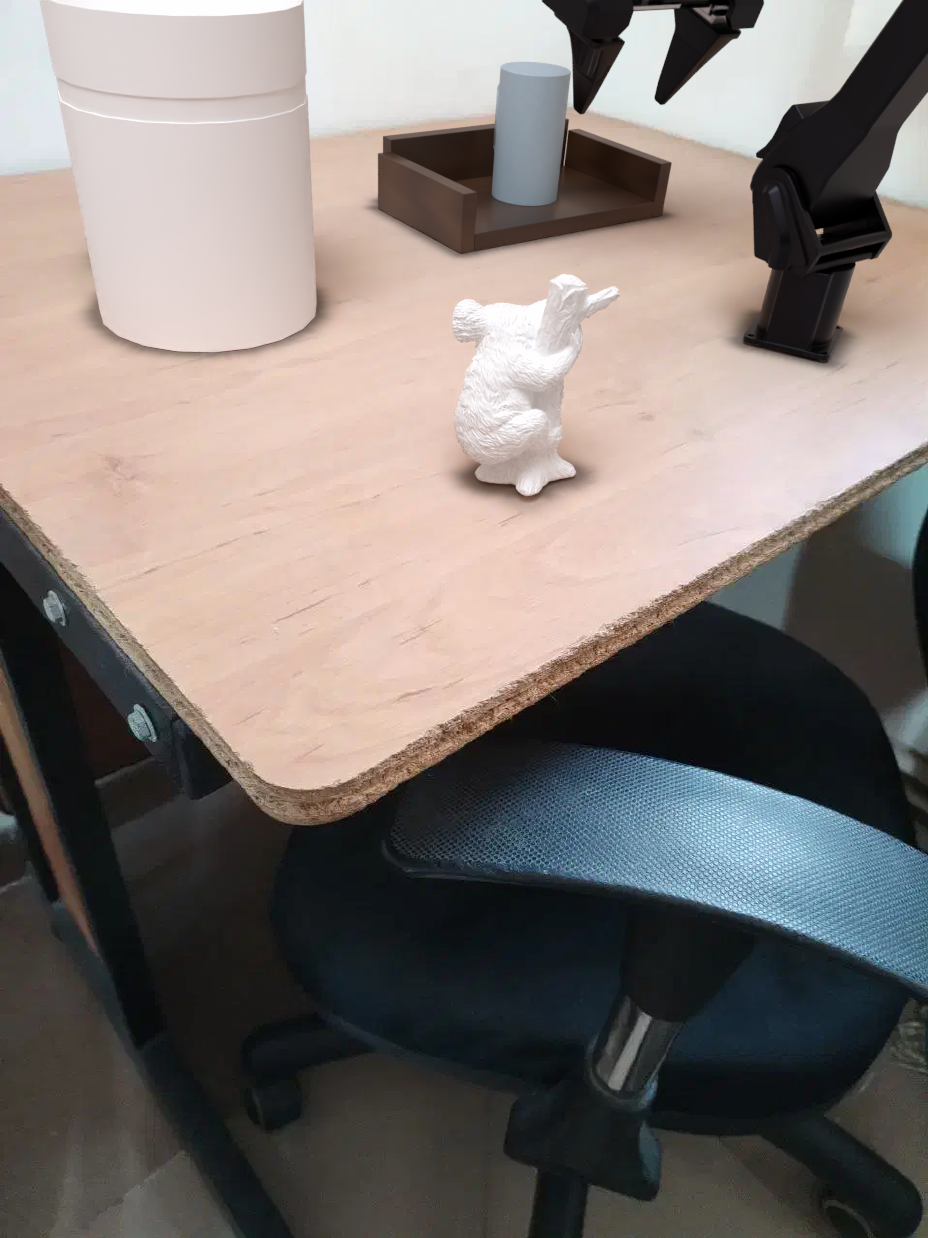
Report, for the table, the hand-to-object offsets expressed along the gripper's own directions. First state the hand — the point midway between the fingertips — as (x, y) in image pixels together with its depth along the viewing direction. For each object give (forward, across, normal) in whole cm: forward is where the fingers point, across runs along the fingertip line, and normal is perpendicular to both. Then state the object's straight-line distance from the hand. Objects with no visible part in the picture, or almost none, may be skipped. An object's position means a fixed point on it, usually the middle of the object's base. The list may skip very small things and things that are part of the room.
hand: (619, 106), depth 80 cm
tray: (+14, 0, -7) cm, 16 cm away
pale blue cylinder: (+13, 0, -8) cm, 15 cm away
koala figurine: (+3, +32, +30) cm, 44 cm away
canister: (+12, +37, 0) cm, 39 cm away
